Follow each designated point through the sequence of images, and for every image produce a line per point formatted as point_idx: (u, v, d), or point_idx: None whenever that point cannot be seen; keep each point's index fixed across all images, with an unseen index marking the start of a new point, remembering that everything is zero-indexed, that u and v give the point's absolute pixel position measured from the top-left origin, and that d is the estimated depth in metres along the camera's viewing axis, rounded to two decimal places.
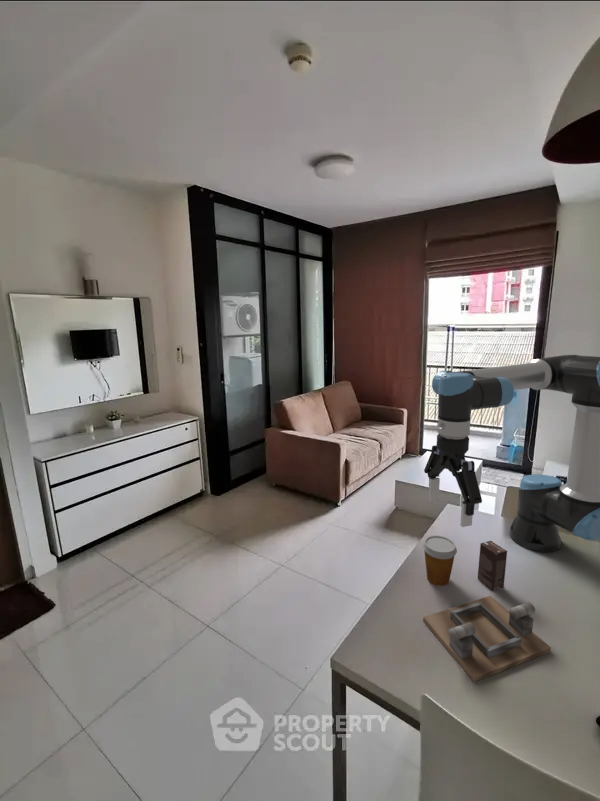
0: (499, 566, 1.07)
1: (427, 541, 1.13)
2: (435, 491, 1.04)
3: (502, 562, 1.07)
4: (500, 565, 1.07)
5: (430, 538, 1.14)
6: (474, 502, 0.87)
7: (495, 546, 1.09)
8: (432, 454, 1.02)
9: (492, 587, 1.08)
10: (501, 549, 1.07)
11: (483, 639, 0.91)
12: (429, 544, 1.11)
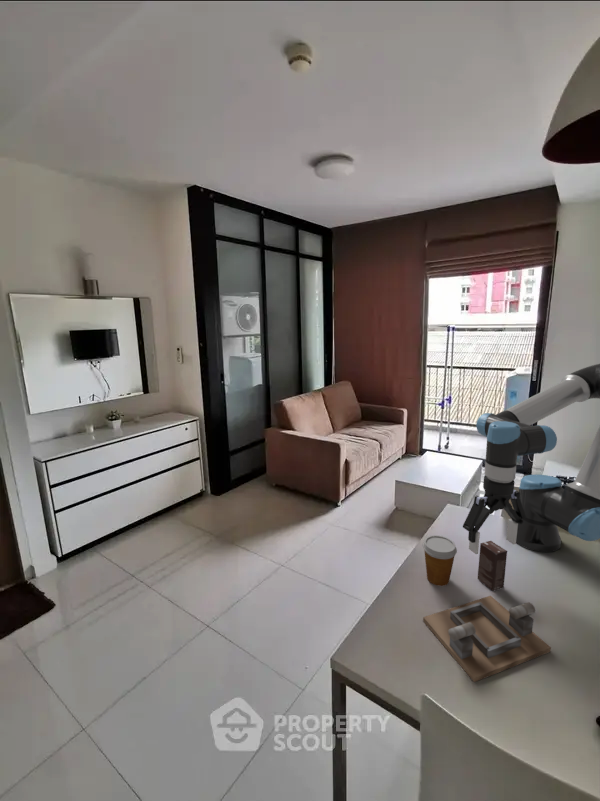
0: (499, 566, 1.07)
1: (427, 541, 1.13)
2: (511, 533, 1.10)
3: (502, 562, 1.07)
4: (500, 565, 1.07)
5: (430, 538, 1.14)
6: (463, 526, 1.04)
7: (495, 546, 1.09)
8: None
9: (492, 587, 1.08)
10: (501, 549, 1.07)
11: (483, 639, 0.91)
12: (429, 544, 1.11)
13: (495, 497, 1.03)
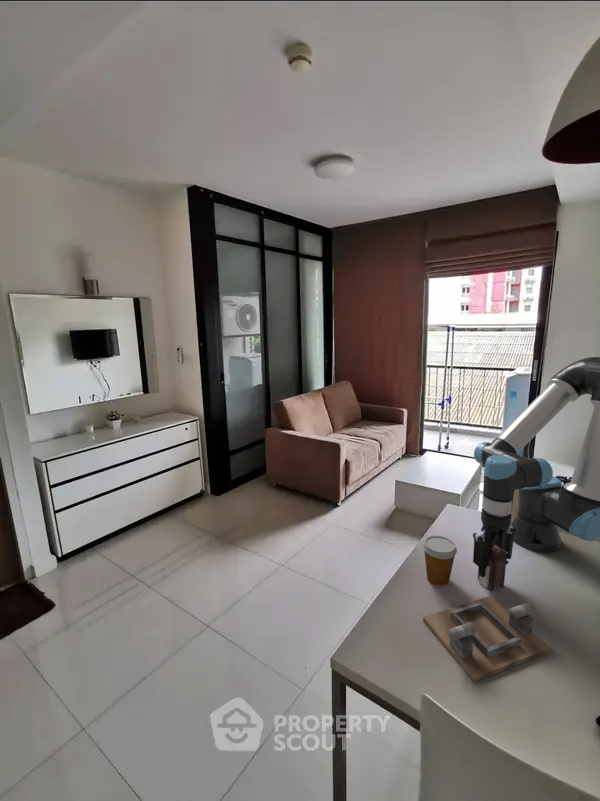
0: (499, 566, 1.07)
1: (427, 541, 1.13)
2: None
3: (502, 562, 1.07)
4: (500, 565, 1.07)
5: (430, 538, 1.14)
6: (474, 561, 1.08)
7: (495, 546, 1.09)
8: None
9: (492, 587, 1.08)
10: (501, 549, 1.07)
11: (483, 639, 0.91)
12: (429, 544, 1.11)
13: (492, 528, 1.05)
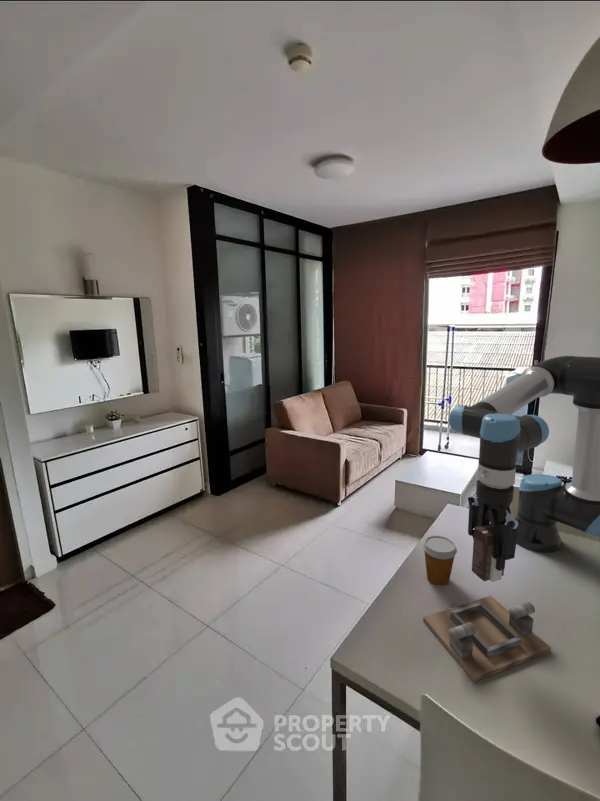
0: None
1: (427, 541, 1.13)
2: None
3: None
4: None
5: (430, 538, 1.14)
6: (507, 558, 0.83)
7: (488, 527, 0.88)
8: (471, 507, 0.92)
9: (503, 572, 0.89)
10: None
11: (483, 639, 0.91)
12: (429, 544, 1.11)
13: None
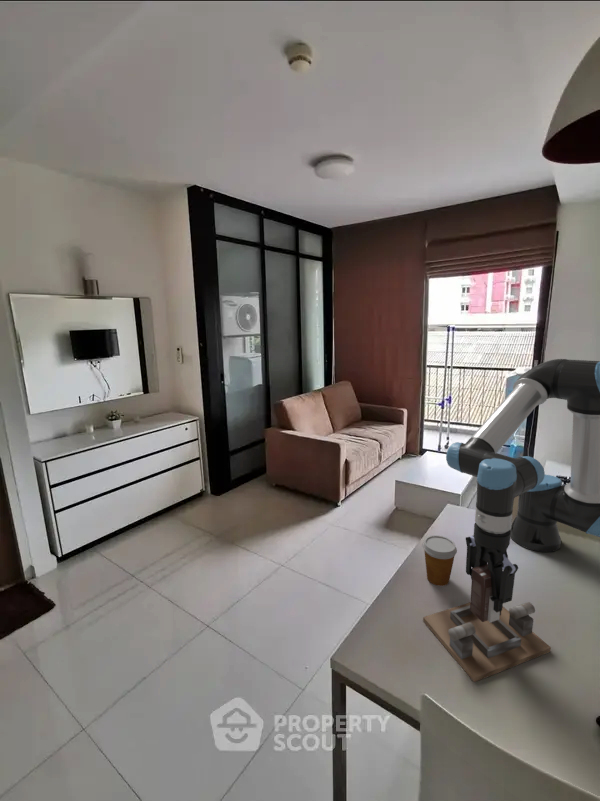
0: None
1: (427, 541, 1.13)
2: None
3: None
4: None
5: (430, 538, 1.14)
6: (504, 601, 0.85)
7: (486, 568, 0.90)
8: (468, 547, 0.93)
9: (500, 611, 0.91)
10: None
11: (483, 639, 0.91)
12: (429, 544, 1.11)
13: None
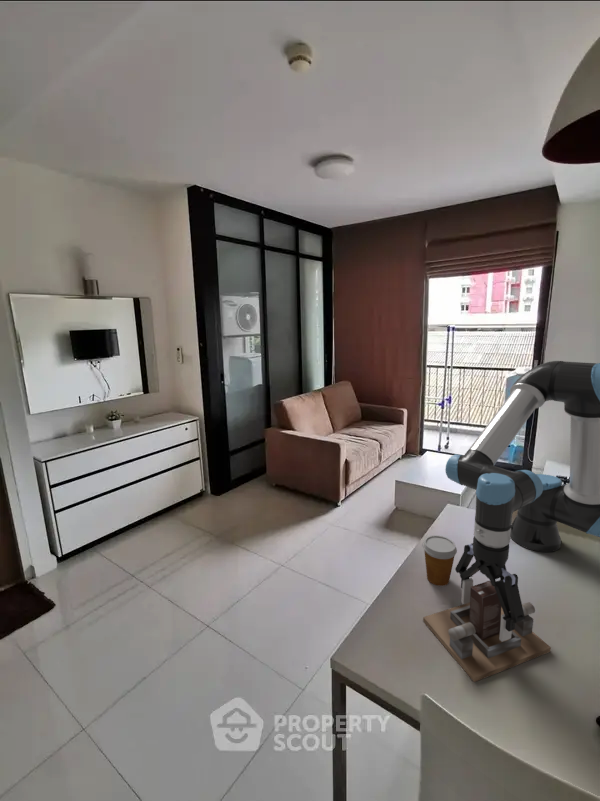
0: None
1: (427, 541, 1.13)
2: (468, 593, 0.97)
3: None
4: None
5: (430, 538, 1.14)
6: (517, 621, 0.82)
7: (484, 586, 0.91)
8: (465, 554, 0.95)
9: (499, 629, 0.92)
10: (488, 583, 0.92)
11: None
12: (429, 544, 1.11)
13: None
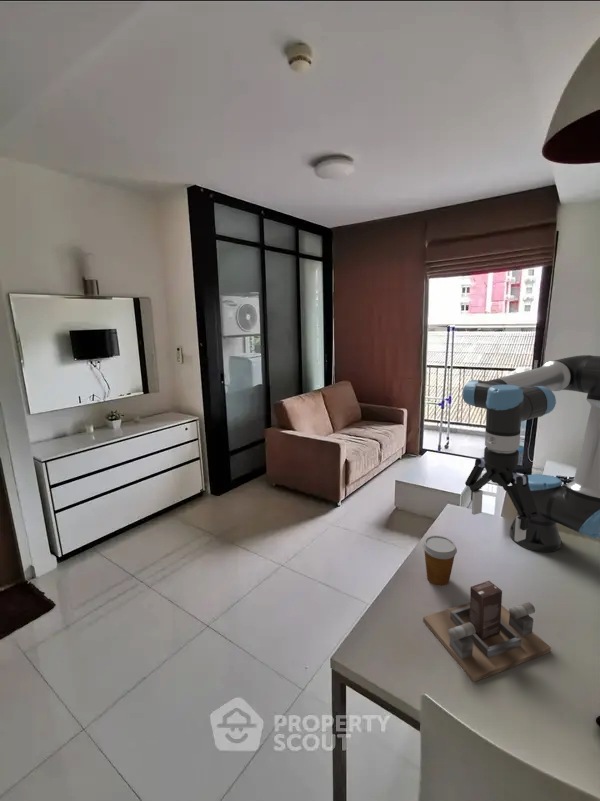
0: None
1: (427, 541, 1.13)
2: (478, 504, 1.03)
3: None
4: None
5: (430, 538, 1.14)
6: (532, 517, 0.86)
7: (484, 586, 0.91)
8: (476, 467, 1.00)
9: (499, 629, 0.92)
10: (488, 583, 0.92)
11: None
12: (429, 544, 1.11)
13: None
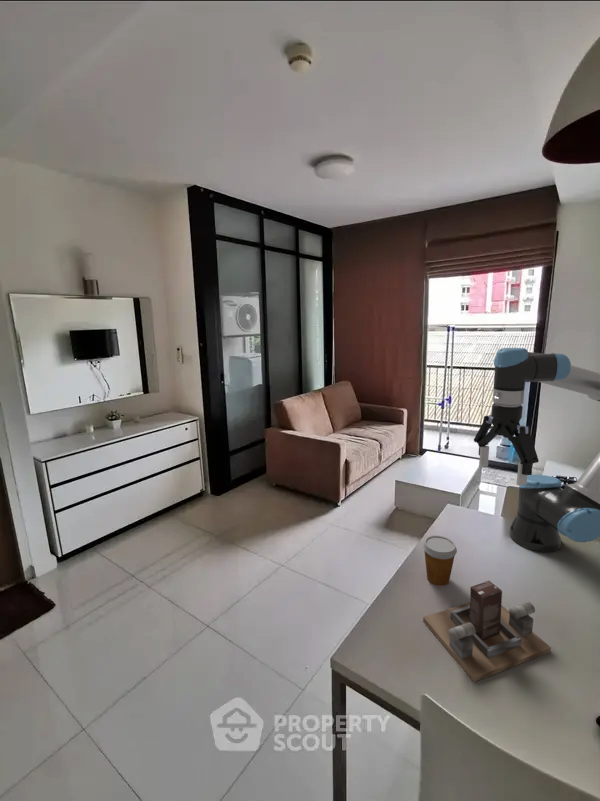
0: None
1: (427, 541, 1.13)
2: (485, 458, 1.15)
3: None
4: None
5: (430, 538, 1.14)
6: (532, 461, 0.98)
7: (484, 586, 0.91)
8: (484, 424, 1.12)
9: (499, 629, 0.92)
10: (488, 583, 0.92)
11: None
12: (429, 544, 1.11)
13: None
